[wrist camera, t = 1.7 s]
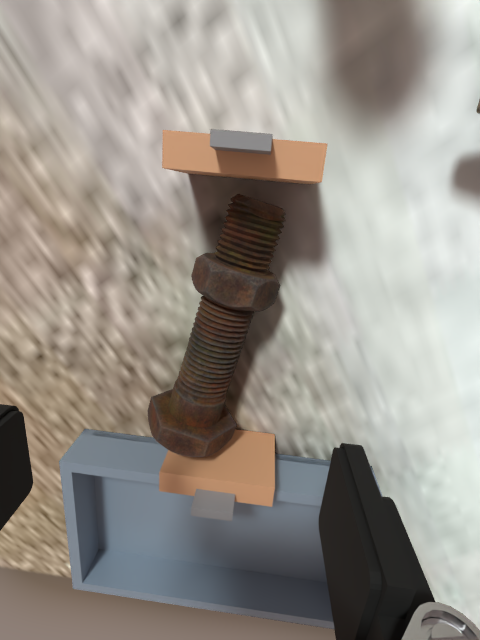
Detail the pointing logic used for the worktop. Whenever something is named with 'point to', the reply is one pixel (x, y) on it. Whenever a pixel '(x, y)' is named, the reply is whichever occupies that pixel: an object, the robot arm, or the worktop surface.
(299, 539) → the tray
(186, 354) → the bolt
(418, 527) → the worktop surface
